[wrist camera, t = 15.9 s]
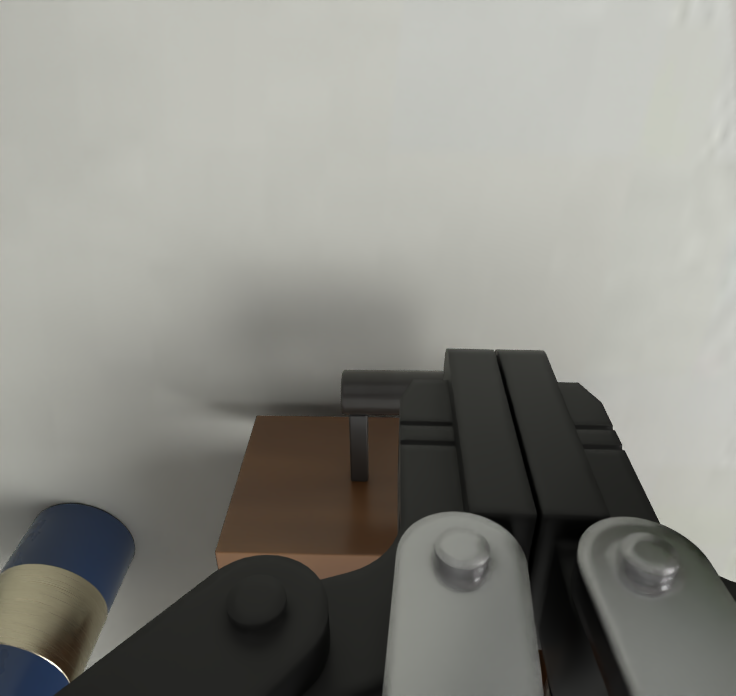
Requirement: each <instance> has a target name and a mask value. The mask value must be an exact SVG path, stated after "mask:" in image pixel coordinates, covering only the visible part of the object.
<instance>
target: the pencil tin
mask: <svg viewBox="0 0 736 696" xmlns="http://www.w3.org/2000/svg"><path fill="white" fill-rule="evenodd" d="M134 552H135V545H134V541H133V538H132V536H131V534H130V532H129V531H128V529H127V528H126V527H125V526H124V525H123V524H122V523H121V522H120V521H119V520H117V519H116V518H115V517H113V516H112V515H110V514H108V513H106V512H104V511H102V510H100V509H97V508H94V507H91V506H87V505H81V504H61V505H56V506H52V507H50V508H48V509H46V510H44V511H43V512H41V513H40V514H39V515H38V516H37V517H36V519H35V520H34V522H33V523H32V525H31V526H30V528H29V530H28V531H27V533H26V534H25V536H24V537H23V539H22V540H21V542H20V543H19V545H18V546H17V548H16V549H15V551H14V553H13V554H12V556H11V557H10V559H9V560H8V562H7V563H6V565H5V566H4V568H3V569H2V571H1V572H0V696H53V695H55V694H56V693H57V692H58V691H60V690H61V689H62V688H64V687H65V686H66V685H68V684H69V683H70V682H72V681H73V680H74V679H75V678H77V677H78V676H79V675H81V674H82V673H83V671H84V669H85V667H86V665H87V662H88V660H89V658H90V656H91V653H92V651H93V649H94V646H95V644H96V642H97V640H98V637H99V635H100V633H101V631H102V628H103V626H104V624H105V621H106V619H107V615H108V613H109V611H110V609H111V606H112V604H113V602H114V599H115V597H116V595H117V593H118V590H119V588H120V586H121V584H122V581H123V579H124V577H125V575H126V572H127V570H128V568H129V566H130V563H131V561H132V559H133V556H134Z"/></svg>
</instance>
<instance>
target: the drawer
mask: <svg viewBox="0 0 736 696" xmlns="http://www.w3.org/2000/svg"><path fill="white" fill-rule="evenodd" d="M443 374H444V371H394V370H344V371H343V373H342V378H341V410H342V413H343V414H345V415H349V417H333V416H260V415H258V416H256V420H255V423H254V426H253V429H252V433H251V436H250V439H249V442H248V446H247V449H246V452H245V456H244V459H243V462H242V465H241V469H240V472H239V475H238V478H237V482H236V485H235V488H234V492H233V495H232V498H231V501H230V505H229V508H228V511H227V514H226V518H225V521H224V524H223V528H222V531H221V534H220V537H219V541H218V544H217V547H216V550H215V554H216V560H217V565H218V570H219V569H220V568H222V567H223V566H226V565H228V564H230V563H232V562H234V561H237V560H240V559H243V558H246V557H251V556H256V555H279V556H284V557H288V558H291V559H294V560H296V561H299V562H301V563H302V564H304V565H306V566H307V567H309V568H310V569H311V570H312V571H313V572H314V573H315V574H316V575H317V576H318V577H319V579H320V580H321V579H324V578H328V577H332V576H336V575H340V574H344V573H348V572H351V571H354V570H357V569H360V568H362V567H364V566H366V565H369V564H370V563H372V562H373V561H375V560H377V559H378V558H379V557H381V556H382V555H383V554H384V553H385V552H386V551H387V550H388V549H389V548H390V546H391V545H392V544H393V542H394V540H395V538H396V537H397V535H398V445H399V417H368V415H399V414H400V397H401V396H402V395H403V393H404V392H405V390H406V389H407V388H408V386H409V385H410V383H411V382H412V380H413V379H425V380H443ZM538 652H539V660H540V667H541V675H542V683H543V691H544V687H545V683H546V679H547V671H546V667H545V662H544V657H543V653H542V650H538Z"/></svg>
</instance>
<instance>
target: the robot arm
mask: <svg viewBox="0 0 736 696" xmlns="http://www.w3.org/2000/svg"><path fill="white" fill-rule="evenodd" d="M538 650H542V653H543V657H544V662H545V667H546V671H547V679H546V683H545V687H544V691H543V683H542V675H541V667H540V660H539V652H538ZM53 696H736V583H735V582H732V581H729V580H727V579H725V578H723V577H720V576H719V575H718V574H717V572H716V570H715V569H714V567H713V566H712V564H711V563H710V561H709V560H708V559H707V557H706V556H705V555H704V553H703V552H702V551H701V550H700V549H699V548H698V547H697V546H696V545H694V544H693V543H692V542H691V541H690V540H688V539H687V538H686V537H684V536H682V535H681V534H679V533H678V532H676V531H674V530H672V529H670V528H668V527H666V526H664V525H661V524H660V522H659V520H658V518H657V516H656V514H655V512H654V510H653V508H652V506H651V504H650V502H649V500H648V498H647V496H646V494H645V491H644V489H643V487H642V485H641V483H640V481H639V479H638V477H637V475H636V473H635V471H634V469H633V467H632V465H631V463H630V460H629V458H628V456H627V454H626V452H625V450H622V444H621V442H620V440H619V438H618V436H617V434H616V431H615V430H613V425H612V423H611V421H610V419H609V417H608V415H607V413H606V411H605V409H604V407H603V405H602V403H601V402H600V401H599V400H598V399H597V398H595V397H594V396H593V395H592V394H591V393H590V392H588V391H587V390H586V389H585V388H584V387H583V386H582V385H580V384H579V383H565V382H557V380H556V378H555V375H554V373H553V370H552V368H551V365H550V363H549V360H548V358H547V355H546V353H545V352H544V351H541V350H495V352H494V350H486V349H446V353H445V361H444V374H443V380H425V379H413V380H412V382H411V383H410V385H409V386H408V388H407V389H406V390H405V392H404V393H403V395H402V396H401V397H400V414H399V445H398V535H397V537H396V538H395V540H394V542H393V544H392V545H391V546H390V548H389V549H388V550H387V551H386V552H385V553H384V554H383V555H382V556H381V557H379V558H378V559H377V560H375V561H373V562H372V563H370V564H369V565H366V566H364V567H362V568H360V569H357V570H354V571H351V572H348V573H344V574H340V575H336V576H332V577H328V578H324V579H321V580H320V579H319V577H318V576H317V575H316V574H315V573H314V572H313V571H312V570H311V569H310V568H309V567H307V566H306V565H304V564H302V563H301V562H299V561H296V560H294V559H291V558H288V557H284V556H279V555H256V556H251V557H246V558H243V559H240V560H237V561H234V562H232V563H230V564H228V565H226V566H223V567H222V568H220V569H219V570H217V571H216V572H214V573H213V574H212V575H210V576H209V577H208V578H206V579H205V580H204V581H203V582H201V583H200V584H199V585H197V586H196V587H195V588H193V589H192V590H191V591H189V592H188V593H187V594H185V595H184V596H183V597H182V598H180V599H179V600H178V601H176V602H175V603H174V604H172V605H171V606H170V607H168V608H167V609H166V610H165V611H163V612H162V613H161V614H159V615H158V616H157V617H155V618H154V619H153V620H151V621H150V622H149V623H147V624H146V625H145V626H144V627H142V628H141V629H140V630H138V631H137V632H136V633H134V634H133V635H132V636H130V637H129V638H128V639H127V640H125V641H124V642H123V643H121V644H120V645H119V646H117V647H116V648H115V649H113V650H112V651H111V652H110V653H108V654H107V655H106V656H104V657H103V658H102V659H100V660H99V661H98V662H96V663H95V664H94V665H92V666H91V667H90V668H89V669H87V670H86V671H85V672H83V673H82V674H81V675H79V676H78V677H77V678H75V679H74V680H73V681H72V682H70V683H69V684H68V685H66V686H65V687H64V688H62V689H61V690H60V691H58V692H57V693H56V694H55V695H53Z"/></svg>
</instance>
